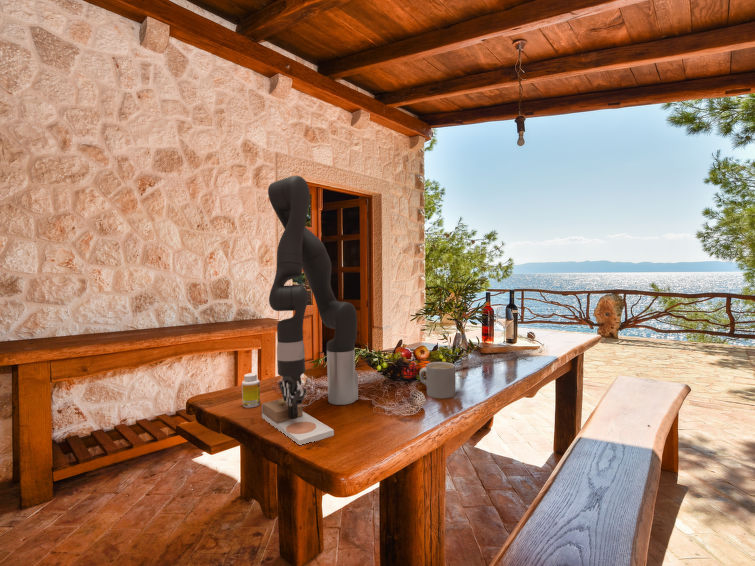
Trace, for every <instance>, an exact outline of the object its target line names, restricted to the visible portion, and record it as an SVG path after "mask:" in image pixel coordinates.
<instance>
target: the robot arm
mask: <svg viewBox="0 0 755 566" xmlns="http://www.w3.org/2000/svg"><path fill="white" fill-rule="evenodd" d="M310 193H311V192H310V187H309V185H308V183H307V181H306V179H305V178H303V176H300V175H292V176H288V177H286V178H282V179H280V180H277V181H273V182H271V183H270V184H269V186H268V189H267V195H268V199H269V201H270V204H271V206H272V208H273V210H274V212H275V214H276V216H277V218H278V220H279V222H280V223H281V225H282V228H283V229H284V231H283V233H282V234H281V237H280V238H279V242H278V246H277V251H276V269H275V276H274V279H273V283H272V286H271V288H270V292H269V296H268V302H269V306H270V308H271V309H272V310H273V311H275V312H287V311H288V312H290V311H292V312H293V311H294V314H293V315H292V316H291V317H289V318H284V319H282V320H281V319H280V320H279V321H278V322H277V324H276V335H277V336H276V337H277V338H276V339H277V347H276V360H277V361H276V363H277V375H279V376H280V377H282V380H281V381H279V382H278V385H279V390H280V392H281V396H282V399H284V401H286V403H287V405H288V417H289V418H290V419H291V420H293V419H296V418H298V406H297V405H299V404H300V405H302V404H303V401H304V400H305V396H306V394H307V389H306V388H303V387H302V384H303V383H302V375H303V374H305V372H306V357H305V355H306V354H305V343H304V328H303V327H304V320H305V313H306V309H307V306H308V301H309V291H308V290H307V288H306V286H304V285H301V284H298V285H297V284H296V285H293V284H291V285H285V284H286V283H287V282H289V281H290V280H294V279H297V278H300V277H301V276H302V274H304V276H305V278H306V280H307V282H308V285H309V288H310V290H311V292H312V294H313V298H314V301H315V304H316V307H317V310H318V313H319V316H320V319H321V322H322V323H323V325H325V327H327V328H329V329H333V330H334V338H332V339H330V340H327V343H326V363H327V364H326V367H327V368H326V369H327V373H326V374H327V400H328V403H329V404H331V405H335V406H337V405H338V406H342V405H343V406H344V405H350V404H353V403H354V402H356V401H357V400H358V401H359V380H358V379H359V377H358V376H359V375H358V371H357V370H356V360H355V357H356V355H355V354H356V353H355V351H356V350H355V347H356V346H355V344H356V342H357V337H358V336H357V334H358V331H357V330H358V313H357V309H356V307H355V306H354V305H353V304H352V303H351V302H348V301H338V299H336V297H335V294H334V292H333V288H332V285H331V279H332V278H331V276H332V262H331V258H330V255H329V254H328V252H327V251H328V250H327V249H326V247H325V245H324V243H323V242H322V240H321V239H320V238H319V237H317V236H316V235H315V234H314V233H313V232H312V231H311V230H309V229H308V228H307V227H306V223H307V219H308V211H309V207H310V200H311V194H310ZM302 271H303V272H302Z"/></svg>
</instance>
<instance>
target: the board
mask: <svg viewBox="0 0 755 566" xmlns="http://www.w3.org/2000/svg"><path fill="white" fill-rule="evenodd" d="M261 418H262V420H264V419H265V420H264V421H266V422H267V423H268V424H269V423H270V425H271V426H272V427H273V426H274V427H273V428H275V429H276V428H277V429H278V430H277V429H276V430H277V431H279V432H280V431H281V432H282V434H283V433H284V434H285V435H286V436H285V435H284V434H283V435H284V436H285V437H287V436H288V437H289V438H291V439H292V440H293V441H295V442H296V443H297V444H299V445H302V444H306V443H309V442H312V443H314V441H315V442H318V441H321V440H324V439H327V438H331V437H334V435H335V430H334V429H333V428H331V427H330V426H328V425H327V424H325V423H323V422H321V421H319V420H318V419H316V418H315V417H314V416H311V415H310V414H308V413H306V412H305V411H303V416H301V417H298V418H296V419H293V420H291V419H290V420H286V421H283V422H279V423H276V422H274V421H273V420H272V419H270V418H269V417H268V416H266V415H265V414H264V413H263V404H261ZM281 432H280V433H281ZM288 437H287V438H288ZM289 438H288V439H289ZM292 440H291V441H292ZM293 441H292V442H293ZM296 443H295V444H296ZM297 444H296V445H297ZM309 444H310V443H309ZM306 445H307V444H306ZM302 446H303V445H302Z"/></svg>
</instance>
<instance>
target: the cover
mask: <svg viewBox="0 0 755 566" xmlns="http://www.w3.org/2000/svg"><path fill="white" fill-rule="evenodd" d="M262 405H263V413H264V414H265V415H266V416H268V417H269V418H270V419H272V420H273V421H274V422H276V423H279V422H283V421H286V420H290V418H289V417H288V405H287V403H286V401H284V399H283V398H279V399H274V400H271V401H266V402H263V403H262ZM297 406H298V417H301V416H303V412H304V411H303V405H302V404H299V405H297Z"/></svg>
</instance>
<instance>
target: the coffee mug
mask: <svg viewBox="0 0 755 566" xmlns="http://www.w3.org/2000/svg"><path fill="white" fill-rule="evenodd" d="M418 373H419V376H418V377H419V381H420V382H421V383H422V384H423V385H424V386H426V395H427V396H429V397H430V398H431V397H432V398H433V399H450V398H454V397H455V396H456V385H457V384H456V365H455V364H454V363H451V362H446V361H434V362H429V363H426V365H425V367H422V368H421V369H420V371H419V372H418ZM424 373H426V375H424ZM425 376H426V377H425ZM425 378H426V379H425Z"/></svg>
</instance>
